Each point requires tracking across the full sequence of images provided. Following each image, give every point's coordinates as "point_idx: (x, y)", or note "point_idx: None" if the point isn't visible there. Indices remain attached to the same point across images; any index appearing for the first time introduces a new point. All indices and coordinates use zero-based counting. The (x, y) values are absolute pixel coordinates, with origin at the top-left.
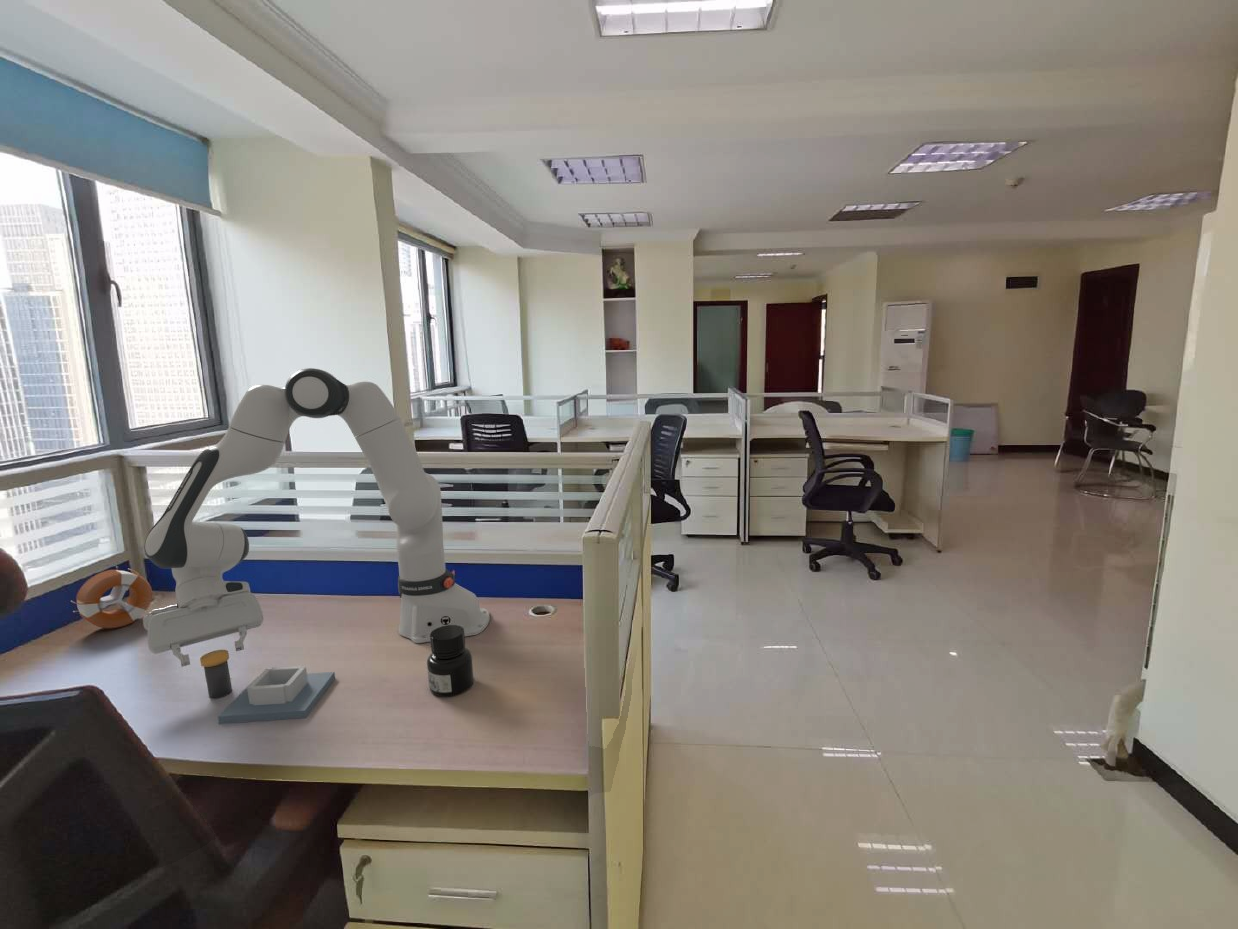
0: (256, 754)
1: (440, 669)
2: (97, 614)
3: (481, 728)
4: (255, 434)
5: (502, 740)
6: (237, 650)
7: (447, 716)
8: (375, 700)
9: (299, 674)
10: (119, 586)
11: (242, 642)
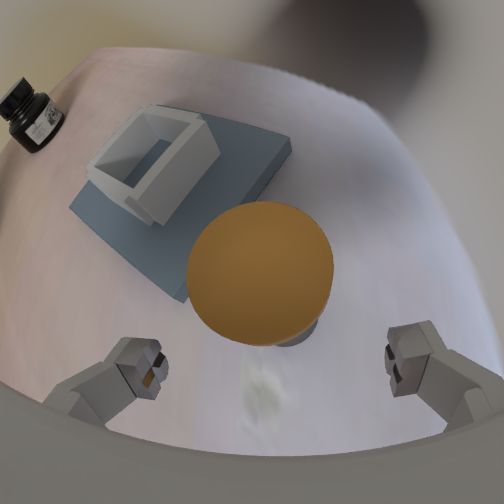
0: (242, 68)
1: (45, 93)
2: None
3: (88, 76)
4: None
5: (93, 65)
6: (159, 353)
7: (85, 90)
8: (91, 128)
9: (107, 143)
10: None
11: (114, 347)
